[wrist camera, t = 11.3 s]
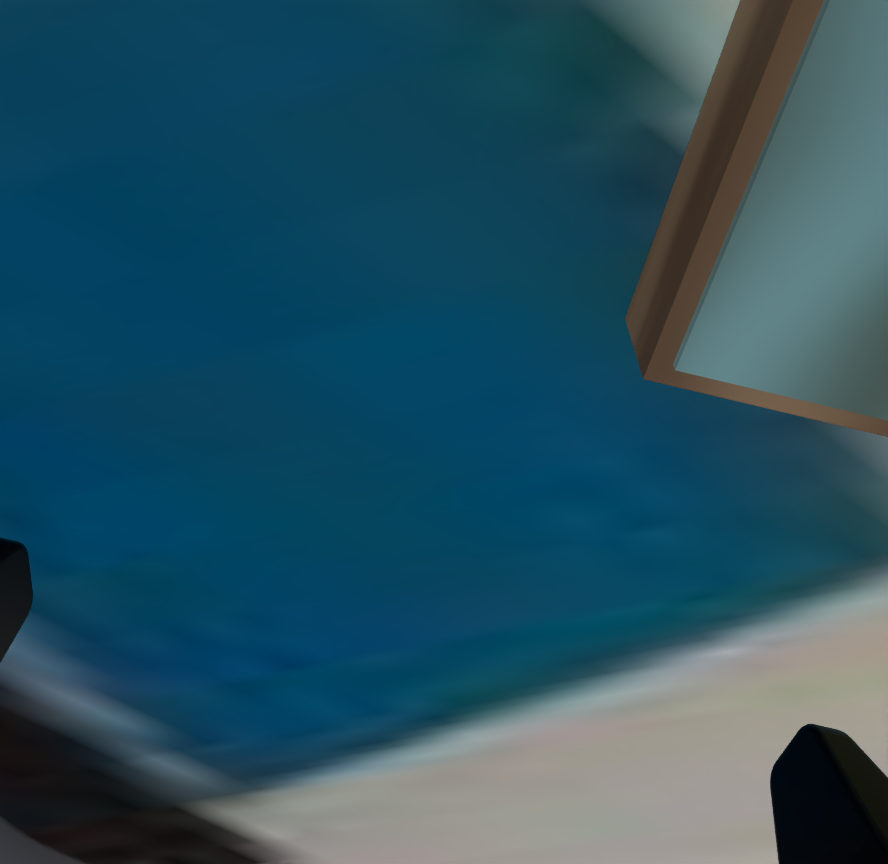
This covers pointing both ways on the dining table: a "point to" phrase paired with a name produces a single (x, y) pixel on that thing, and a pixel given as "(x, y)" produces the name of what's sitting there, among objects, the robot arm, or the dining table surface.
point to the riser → (780, 222)
